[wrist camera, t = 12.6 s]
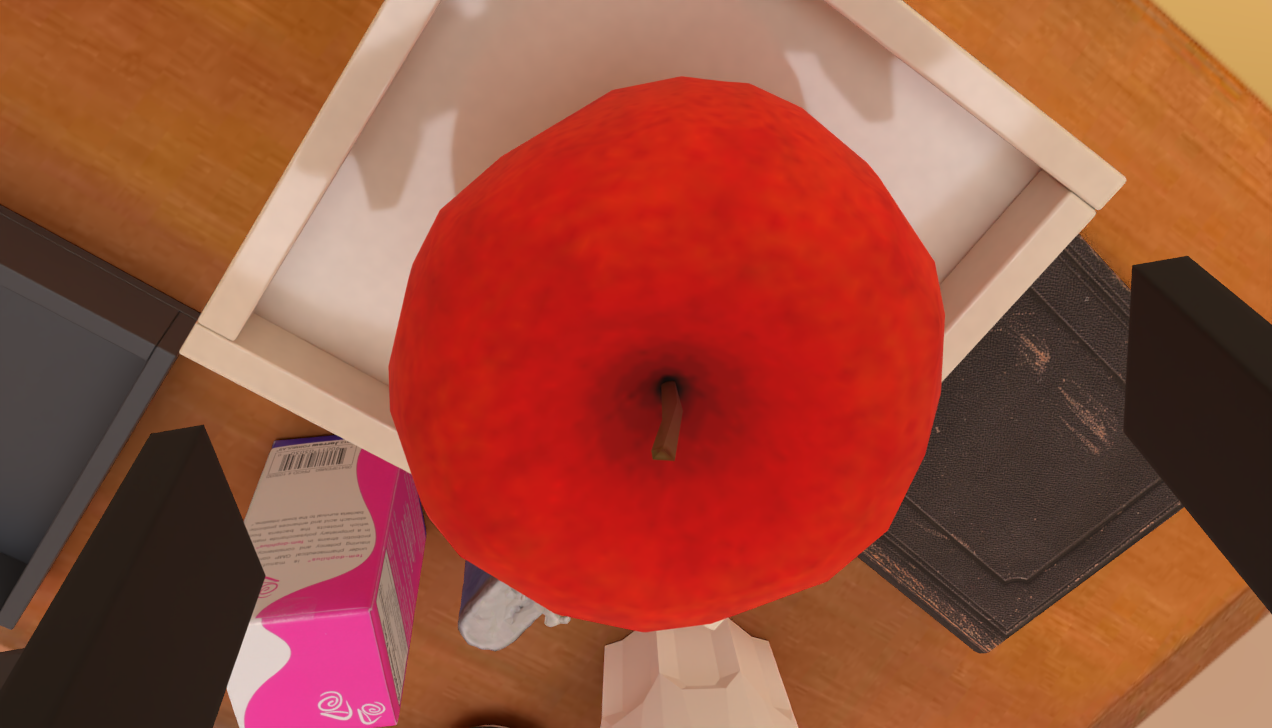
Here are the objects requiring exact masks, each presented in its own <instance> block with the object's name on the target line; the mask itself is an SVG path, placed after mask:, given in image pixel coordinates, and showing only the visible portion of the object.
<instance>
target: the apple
mask: <svg viewBox="0 0 1272 728" xmlns="http://www.w3.org/2000/svg"><path fill="white" fill-rule="evenodd" d="M944 327H945V312H944V306H943V301H942V296H941V291H940V286H939V281H938V275H937V270H936V265H935V261H934V260H933V258H932V257H931V255H930V254H929V252H928V251H927V249H926V248H925V246H924V245H923V243H922V242H921V240H920V239H919V237H918V235H917V234H916V232H915V231H914V229H913V228H912V226H911V225H910V223H909V222H908V220H907V219H906V217H905V216H904V214H903V213H902V211H901V210H900V208H899V207H898V205H897V204H896V202H895V200H894V199H893V197H892V196H891V194H890V193H889V191H888V190H887V188H886V187H885V185H884V184H883V182H882V181H881V179H880V178H879V176H878V175H877V174H876V173H875V172H874V170H873V169H872V168H871V167H870V166H869V164H868V163H867V162H866V161H865V160H863V159H862V158H861V157H860V156H859V155H857V154H856V153H855V152H854V151H853V150H851V149H850V148H849V147H848V146H847V145H846V144H844V143H843V142H842V141H841V140H840V139H838V138H837V137H836V136H835V135H834V134H833V133H831V132H830V131H829V130H828V129H827V128H825V127H824V126H823V125H822V124H821V123H820V122H818V121H817V120H816V119H815V118H814V117H812V116H811V115H810V114H809V113H808V112H807V111H805V110H804V109H803V108H801V107H799V106H797V105H795V104H793V103H791V102H789V101H786V100H784V99H782V98H780V97H778V96H776V95H774V94H771V93H769V92H767V91H765V90H763V89H761V88H759V87H756V86H754V85H752V84H750V83H740V82H726V81H717V80H709V79H701V78H693V77H685V76H680V77H675V78H670V79H665V80H660V81H655V82H650V83H645V84H640V85H635V86H630V87H625V88H620V89H615V90H611V91H610V92H608V93H606V94H605V95H603V96H601V97H600V98H598V99H596V100H595V101H593V102H591V103H590V104H588V105H586V106H585V107H583V108H581V109H580V110H578V111H576V112H575V113H573V114H571V115H570V116H568V117H566V118H565V119H563V120H561V121H560V122H558V123H556V124H555V125H553V126H551V127H550V128H548V129H546V130H545V131H543V132H541V133H540V134H538V135H536V136H535V137H533V138H531V139H530V140H528V141H526V142H525V143H523V144H521V145H520V146H518V147H516V148H515V149H513V150H511V151H510V152H508V153H506V154H505V155H503V156H501V157H500V158H499V159H498V160H497V161H495V162H494V163H493V164H492V165H491V166H490V167H489V168H487V169H486V170H485V171H484V172H483V173H482V174H481V175H479V176H478V177H477V178H476V179H475V180H474V181H473V182H471V183H470V184H469V185H468V186H467V187H466V188H464V189H463V190H462V191H461V192H460V193H459V194H458V195H456V196H455V197H454V198H453V199H452V200H451V201H450V202H448V203H447V204H446V205H445V206H444V207H443V208H442V209H440V211H439V213H438V215H437V217H436V219H435V221H434V223H433V225H432V227H431V228H430V230H429V232H428V234H427V236H426V238H425V240H424V242H423V244H422V246H421V248H420V250H419V252H418V254H417V256H416V258H415V260H414V262H413V264H412V267H411V271H410V274H409V278H408V282H407V287H406V291H405V296H404V300H403V304H402V309H401V313H400V317H399V322H398V326H397V331H396V335H395V339H394V344H393V348H392V352H391V357H390V361H389V366H388V370H389V399H390V412H391V415H392V418H393V421H394V424H395V427H396V430H397V433H398V436H399V439H400V442H401V445H402V448H403V451H404V454H405V457H406V460H407V462H408V465H409V468H410V471H411V474H412V477H413V480H414V483H415V486H416V489H417V492H418V495H419V498H420V501H421V503H422V505H423V508H424V510H425V512H426V514H427V516H428V517H429V519H430V520H431V521H432V522H433V524H434V525H435V526H436V527H437V529H438V530H439V531H440V532H441V533H442V535H443V536H444V537H445V538H446V540H447V541H448V542H449V543H450V545H451V546H452V547H453V548H454V549H455V551H456V552H457V553H458V554H459V556H460V557H462V558H464V559H465V560H467V561H469V562H470V563H472V564H474V565H475V566H477V567H478V568H480V569H482V570H483V571H485V572H487V573H488V574H490V575H492V576H493V577H495V578H497V579H498V580H500V581H502V582H503V583H505V584H507V585H508V586H510V587H511V588H513V589H515V590H516V591H518V592H520V593H521V594H523V595H525V596H526V597H528V598H530V599H531V600H533V601H535V602H536V603H538V604H540V605H541V606H543V607H545V608H546V609H548V610H549V611H551V612H553V613H554V614H558V615H563V616H568V617H572V618H577V619H582V620H587V621H591V622H596V623H601V624H606V625H610V626H615V627H620V628H625V629H629V630H634V631H639V632H652V631H660V630H667V629H675V628H683V627H691V626H698V625H706V624H712V623H715V622H717V621H720V620H723V619H726V618H728V617H731V616H734V615H737V614H739V613H742V612H745V611H747V610H750V609H753V608H756V607H758V606H761V605H764V604H767V603H769V602H772V601H775V600H778V599H780V598H783V597H786V596H789V595H791V594H794V593H797V592H799V591H802V590H805V589H808V588H810V587H813V586H816V585H819V584H821V583H824V582H827V581H828V580H830V579H831V578H832V577H833V576H834V575H836V574H837V573H838V572H839V571H840V570H841V569H843V568H844V567H845V566H846V565H847V564H849V563H850V562H851V561H852V560H853V559H854V558H856V557H857V556H858V555H859V554H860V553H862V552H863V551H864V550H865V549H866V548H867V547H869V546H870V545H871V544H872V543H873V542H875V541H876V540H877V539H878V538H879V537H880V536H882V535H883V534H884V533H885V532H886V531H888V529H889V527H890V525H891V523H892V521H893V519H894V517H895V515H896V513H897V511H898V509H899V507H900V505H901V503H902V501H903V499H904V497H905V495H906V493H907V491H908V489H909V487H910V484H911V482H912V480H913V478H914V476H915V474H916V472H917V470H918V468H919V466H920V464H921V462H922V460H923V458H924V456H925V453H926V449H927V445H928V441H929V438H930V434H931V430H932V426H933V422H934V418H935V414H936V410H937V406H938V402H939V398H940V394H941V382H942V364H943V345H944Z"/></svg>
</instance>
